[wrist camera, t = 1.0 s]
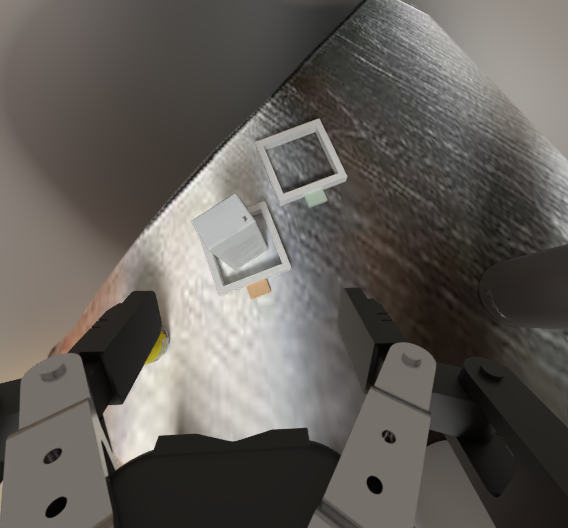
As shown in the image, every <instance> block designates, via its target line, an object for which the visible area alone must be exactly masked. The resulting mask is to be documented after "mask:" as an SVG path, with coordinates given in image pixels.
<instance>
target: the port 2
mask: <svg viewBox="0 0 568 528" xmlns="http://www.w3.org/2000/svg"><path fill="white" fill-rule="evenodd" d="M314 132H315V133H316V135H317V137H318V139H319V141H320V143H321V145H322V147H323V150H324V152H325V154H326V156H327V158H328V160H329V162H330V164H331V166H332V169H333V171H334V173H335V175H332V176H329V177H327V178H324V179H321V180H319V181H316V182H313V183H311V184H308V185H306V186H303V187H300V188H298V189H295V190H292V191H290V192H287V193H284V194H283V192H282V189H281V187H280V185H279V182H278V180H277V177H276V175H275V173H274V170H273V168H272V165H271V163H270V161H269V158H268V156H267V153H266V151H265V150H268V149H271V148H273V147H276V146H279V145H282V144H284V143H287V142H290V141H292V140H295V139H298V138H300V137H303V136H306V135H309V134H311V133H314ZM255 144H256V148H257V151H258V153H259V156H260V158H261V161H262V163H263V165H264V168H265V170H266V173H267V175H268V178H269V180H270V182H271V185H272V187H273V190H274V192H275V195H276V197H277V200H278V202H279V204H280V206H282V205H284V204H287V203H289V202H292V201H295V200H297V199H300V198H303V197H304V198H305V200H306V203H307V205H308V207H309V208H310V207H313V206H316V205H318V204H321V203H324V202H326V201H327V198H326V196H325V193H324V191H323V190H324V189H327V188H329V187H332V186H334V185H337V184H340V183H342V182H345V181H346V178H347V175H346V173H345V171H344V168H343V166H342V164H341V162H340V160H339V158H338V156H337V154H336V152H335V150H334V148H333V146H332V144H331V142H330V139H329V137H328V135H327V133H326V131H325V129H324V127H323V125H322V123H321V121H320V119H316V120H313V121H311V122H308V123H305V124H303V125H300V126H297V127H294V128H292V129H289V130H286V131H284V132H281V133H278V134H275V135H273V136H270V137H267V138H265V139H262V140H259V141H257V142H255Z"/></svg>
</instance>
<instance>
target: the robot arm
mask: <svg viewBox="0 0 568 528" xmlns="http://www.w3.org/2000/svg"><path fill="white" fill-rule="evenodd" d="M479 293H480V298H481V301H482V303H483V306H484V307H485V308H486V310H487V311H488V313H489V314H490V315H491V316H492V317H493V318H495V319H496V320H498V321H499V322H501V323H503V324H505V325H508V326H512V327H524V328H543V329H564V330H568V244H565V245H562V246H558V247H554V248H551V249H547V250H543V251H539V252H536V253H532V254H528V255H525V256H520V257H517V258H513V259H509V260H506V261H502V262H499V263H496V264H494V265H492V266H491V267H489V268H488V269H487V270H486V271H485V272H484V274H483V276H482V277H481V280H480V284H479ZM161 328H162V322H161V317H160V312H159V308H158V303H157V298H156V295H155V293H154V291H133V292H132V293H131V294H130V295H129V296H128V297H127V298H126V299H125V300H124V302H123V303H119V304H117V305H115V306H114V307H112V308H110V309H109V310H107V311H106V312H105V313H104V314H103V315H102V316H101V317H100V319H99V321H97V322H96V323H95V324H94V325H93V326H92V329H89V330H88V331H87V332H86V334H85V335H84V336H83V337H82V338H81V339H80V340H79V341H78V342H77V343H76V344H75V345H74V346H73V347H72V348H71V350H70V351H69V352H68V353H65V354H59V355H56V356H53V357H50V358H47V359H45V360H43V361H41V362H40V363H38V364H36V365H35V366H33V367H32V368H31V369H30V370H28V371H27V373H26V374H25V375H24V376H23V378H21V379H17V380H13V381H9V382H5V383H1V384H0V483H1V482H2V481H3V489H2V502H1V503H2V504H1V514H0V515H1V516H0V528H413V527H414V520H415V514H416V508H417V501H418V495H419V489H420V483H421V476H422V470H423V464H424V457H425V451H426V445H427V438H428V432H429V430H433V431H437V432H441V433H444V435H445V437H446V439H447V440H448V442H449V444H450V446H451V448H452V449H453V451H454V453H455V455H456V457H457V458H458V460H459V462H460V464H461V466H462V467H463V469H464V471H465V473H466V475H467V476H468V478H469V480H470V482H471V484H472V486H473V487H474V489H475V491H476V493H477V495H478V496H479V498H480V500H481V502H482V504H483V505H484V507H485V509H486V511H487V513H488V514H489V516H490V518H491V520H492V522H493V523H494V525H495V527H496V528H568V428H567V427H566V426H565V425H564V424H563V423H562V422H561V421H560V420H559V419H558V418H557V417H556V416H555V415H554V414H553V413H552V412H551V411H550V410H549V409H548V408H547V407H546V406H545V405H544V404H543V403H542V402H541V401H540V400H539V399H538V398H537V397H536V396H535V395H534V394H533V393H532V392H531V391H530V390H529V389H528V388H527V387H526V386H525V385H524V384H523V383H522V382H521V381H520V380H519V379H518V378H517V377H516V376H515V375H514V374H513V373H512V372H511V371H510V370H509V369H507V368H506V367H505V366H503V365H501V364H499V363H498V362H495V361H493V360H490V359H488V358H484V357H477V356H474V357H469V358H467V359H466V360H465V361H464V363H463V366H462V367H458V366H453V365H448V364H443V363H439V362H435V360H434V358H433V356H432V355H431V354H430V353H429V352H427V351H426V350H425V349H423V348H421V347H419V346H417V345H414V344H411V343H409V342H408V341H407V340H406V338H405V337H404V335H403V334H402V333H401V331H400V330H399V328H398V327H397V326H396V324H395V323H394V321H392V319H391V317H390V316H389V315H388V314H387V312H386V310H385V309H384V308H383V306H382V305H381V304H379V303H378V302H376V301H375V300H374V299H367V297H366V296H365V294H364V293H363V291H362V290H361V288H342V290H341V295H340V303H339V311H338V329H339V332H340V335H341V337H342V340H343V343H344V345H345V348H346V350H347V353H348V355H349V358H350V360H351V363H352V365H353V368H354V371H355V373H356V376H357V378H358V381H359V383H360V386H361V388H362V391H363V393H364V394H367V397H366V399H365V401H364V404H363V406H362V408H361V411H360V413H359V415H358V418H357V420H356V422H355V425H354V427H353V429H352V432H351V434H350V436H349V439H348V441H347V443H346V446H345V448H344V450H343V453H342V455H340V454H339V453H337V452H336V451H334V450H333V449H331V448H329V447H327V446H325V445H323V444H320V443H317V442H314V441H310V440H309V436H308V429H307V428H295V429H276V430H269V431H266V432H263V433H260V434H257V435H254V436H251V437H248V438H245V439H241V440H238V441H233V442H232V441H226V440H222V439H217V438H213V437H209V436H204V435H200V434H183V435H164V436H159V437H158V440H157V442H156V445H155V448H154V450H152V451H149V452H146V453H144V454H142V455H140V456H138V457H136V458H134V459H132V460H130V461H129V462H127V463H126V464H124V465H123V466H121V467H119V466H118V463H117V459H116V456H115V452H114V448H113V445H112V441H111V437H110V433H109V430H108V426H107V422H106V419H105V416H104V411H105V409H106V408H107V406H108V405H121V404H123V403H124V401H125V399H126V397H127V395H128V393H129V392H130V390H131V388H132V386H133V384H134V382H135V380H136V379H137V377H138V375H139V373H140V371H141V369H142V368H143V366H144V364H145V362H146V360H147V358H148V356H149V355H150V353H151V351H152V349H153V347H154V345H155V344H156V342H157V340H158V338H159V336H160V333H161ZM496 431H497V432H498V434H499V435H500V436H501V438H502V439H503V440H504V442H505V443H506V444H507V446H508V447H509V449H510V450H511V452H512V453H513V455H514V457H513V456H512V455H511V453H510V452H509V451H508V449H507V448H506V447H505V445H504V444H503V443H502V441H501V440H500V438H499V437H498V436H497V434H496V433H495V432H496ZM514 458H515V459H514Z"/></svg>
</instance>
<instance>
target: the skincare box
mask: <svg viewBox="0 0 568 528" xmlns="http://www.w3.org/2000/svg"><path fill="white" fill-rule="evenodd" d="M191 223H192V224H193V226H194V228H195V229H196V231H197V233H198V235H199V236H200V238H201V240H202V241H203V243H204V245H205V246H206V248H207V250H208V251H209V252H211V253H212V254H214V255H215V256H217V257H218V258H219V259H221V260H222V261H223V262H225V263H226V264H227V265H229V266H230V267H231V268H233V269H234V270H237V269H238V268H240V267H242V266H243V265H245V264H246V263H248V262H249V261H251V260H252V259H254V258H255V257H257V256H259V255H260V254H262V253H263V252H265V251H266V250H268V247H267V245H266V243H265V241H264V238H263V236H262V234H261V232H260V230H259V228H258V225H257V223H256V220H255V219H254V218H253V216H252V215H251V213H250V212H249V211H248V209H247V208H246V206H245V205H244V203H243V202H242V201H241V199H240V198H239V196H238V195H237V194H236V193H234V194H233V195H231V196H230V197H228V198H227V199H225V200H223V201H222V202H220V203H219V204H217V205H216V206H214V207H212V208H211V209H209V210H208V211H206V212H205V213H203V214H202V215H200V216H198V217H197V218H195V219H194V220H192V221H191Z"/></svg>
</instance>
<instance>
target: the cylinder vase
mask: <svg viewBox="0 0 568 528" xmlns="http://www.w3.org/2000/svg"><path fill="white" fill-rule="evenodd" d="M414 526H415V527H416V528H496V527H495V525H494V523H493V522H492V520H491V518H490V516H489V514H488V513H487V511H486V509H485V507H484V505H483V504H482V502H481V500H480V498H479V496H478V495H477V493H476V491H475V489H474V487H473V486H472V484H471V482H470V480H469V478H468V476H467V475H466V473H465V471H464V469H463V467H462V466H461V464H460V462H459V460H458V458H457V457H456V455H455V453H454V451H453V449H452V448H451V446H450V444H449V442H448V440H444V441H439V442H436V443H433V444H431V445H429V446H427V447H426V451H425V457H424V464H423V470H422V476H421V483H420V489H419V495H418V501H417V508H416V514H415V520H414Z"/></svg>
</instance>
